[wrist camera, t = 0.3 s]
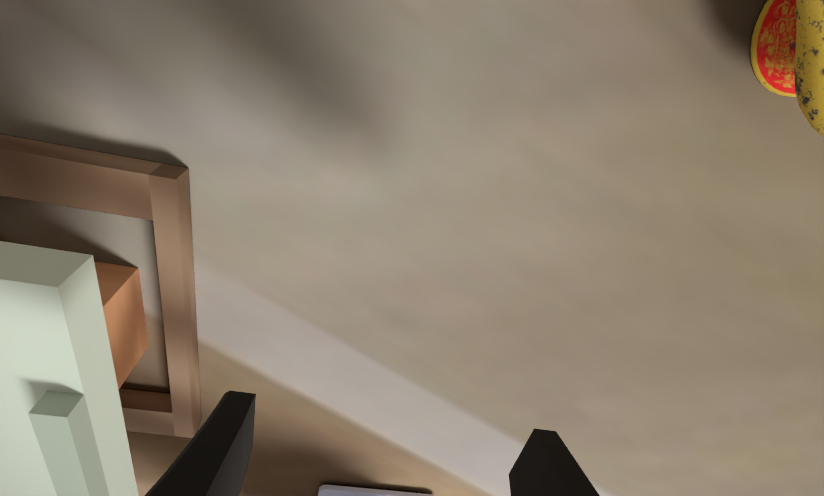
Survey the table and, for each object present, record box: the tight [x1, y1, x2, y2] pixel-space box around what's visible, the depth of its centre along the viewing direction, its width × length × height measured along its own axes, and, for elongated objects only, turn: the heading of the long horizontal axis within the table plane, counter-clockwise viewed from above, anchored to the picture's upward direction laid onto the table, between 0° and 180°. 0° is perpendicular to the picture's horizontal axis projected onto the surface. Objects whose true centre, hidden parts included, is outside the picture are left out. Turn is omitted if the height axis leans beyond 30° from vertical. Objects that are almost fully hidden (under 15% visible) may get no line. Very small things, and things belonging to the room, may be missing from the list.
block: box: [94, 261, 148, 390], centre depth 19 cm, size 5×5×6 cm
